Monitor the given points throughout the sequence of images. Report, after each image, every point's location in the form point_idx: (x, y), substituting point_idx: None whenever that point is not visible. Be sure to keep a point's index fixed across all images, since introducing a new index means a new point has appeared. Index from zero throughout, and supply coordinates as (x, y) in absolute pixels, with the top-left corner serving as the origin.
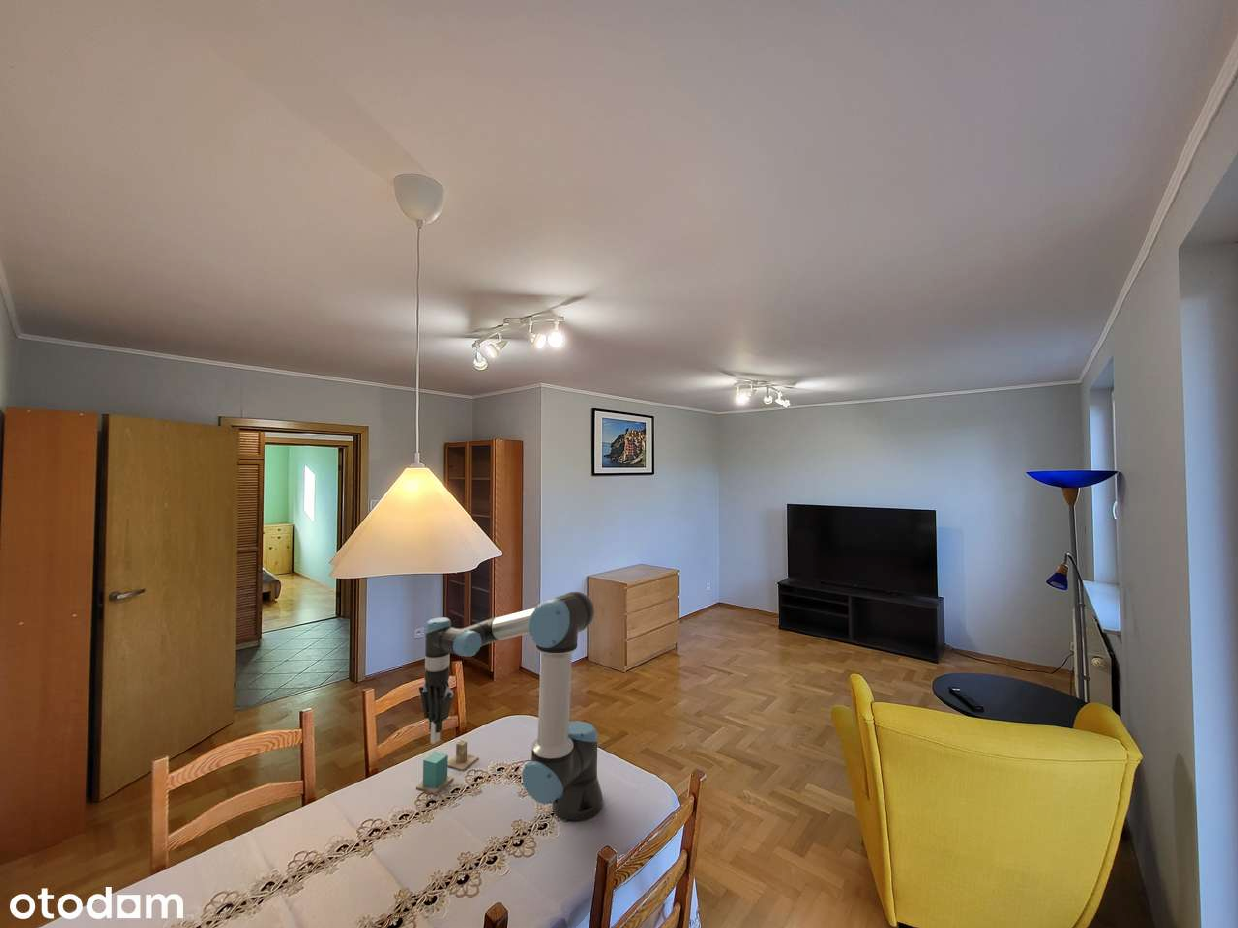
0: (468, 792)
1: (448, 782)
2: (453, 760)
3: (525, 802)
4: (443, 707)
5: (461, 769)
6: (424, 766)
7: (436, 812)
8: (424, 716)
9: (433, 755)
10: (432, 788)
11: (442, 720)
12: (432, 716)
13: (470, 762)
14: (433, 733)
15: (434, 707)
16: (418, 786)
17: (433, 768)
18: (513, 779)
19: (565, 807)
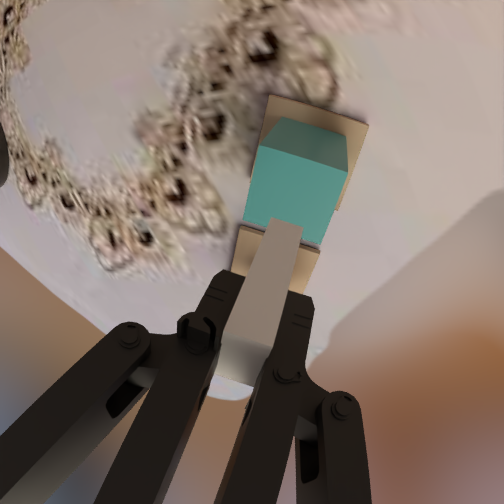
0: (168, 123)
1: (255, 158)
2: (296, 271)
3: (36, 122)
4: (35, 440)
5: (248, 229)
6: (339, 157)
7: (216, 10)
8: (358, 409)
9: (311, 211)
10: (295, 116)
11: (115, 329)
12: (254, 400)
13: (236, 261)
14: (263, 263)
15: (222, 486)
16: (358, 126)
17: (282, 140)
18: (94, 197)
19: None
